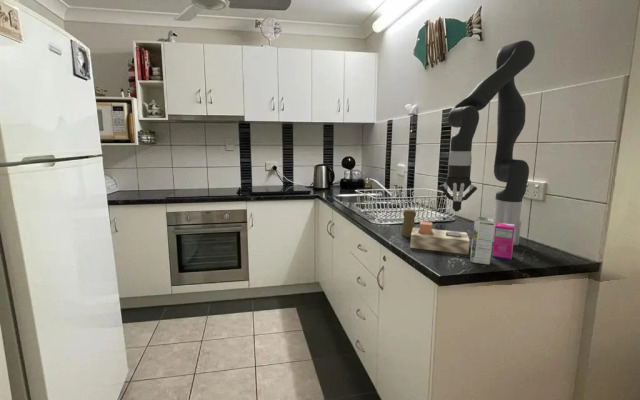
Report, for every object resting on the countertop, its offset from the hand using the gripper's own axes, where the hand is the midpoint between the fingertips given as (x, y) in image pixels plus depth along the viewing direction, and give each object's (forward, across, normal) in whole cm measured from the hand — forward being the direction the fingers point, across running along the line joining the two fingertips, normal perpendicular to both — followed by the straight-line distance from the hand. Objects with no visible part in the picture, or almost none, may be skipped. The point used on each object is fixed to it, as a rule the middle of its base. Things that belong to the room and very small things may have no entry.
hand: (456, 211), depth 122 cm
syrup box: (+14, -8, +12) cm, 20 cm away
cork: (+14, +18, -12) cm, 25 cm away
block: (+14, +6, 0) cm, 15 cm away
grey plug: (+14, +1, 0) cm, 14 cm away
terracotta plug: (+10, +10, 0) cm, 15 cm away
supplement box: (+15, -16, +4) cm, 22 cm away
